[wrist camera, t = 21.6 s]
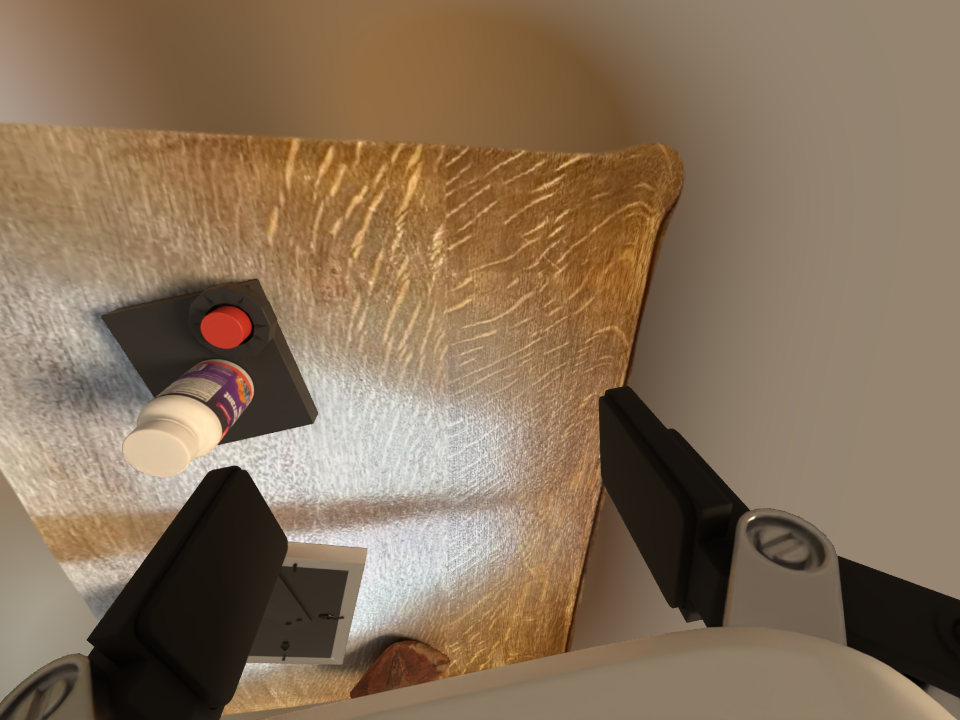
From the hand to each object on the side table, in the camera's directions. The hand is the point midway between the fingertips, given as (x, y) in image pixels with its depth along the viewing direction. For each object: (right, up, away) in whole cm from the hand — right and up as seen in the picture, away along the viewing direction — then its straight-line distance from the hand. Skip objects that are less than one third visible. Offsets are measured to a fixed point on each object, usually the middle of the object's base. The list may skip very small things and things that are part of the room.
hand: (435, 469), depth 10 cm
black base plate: (-22, +2, +26) cm, 34 cm away
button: (-19, +6, +21) cm, 29 cm away
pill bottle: (-22, +1, +25) cm, 33 cm away
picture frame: (-23, -28, +40) cm, 54 cm away
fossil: (-10, -40, +48) cm, 63 cm away
